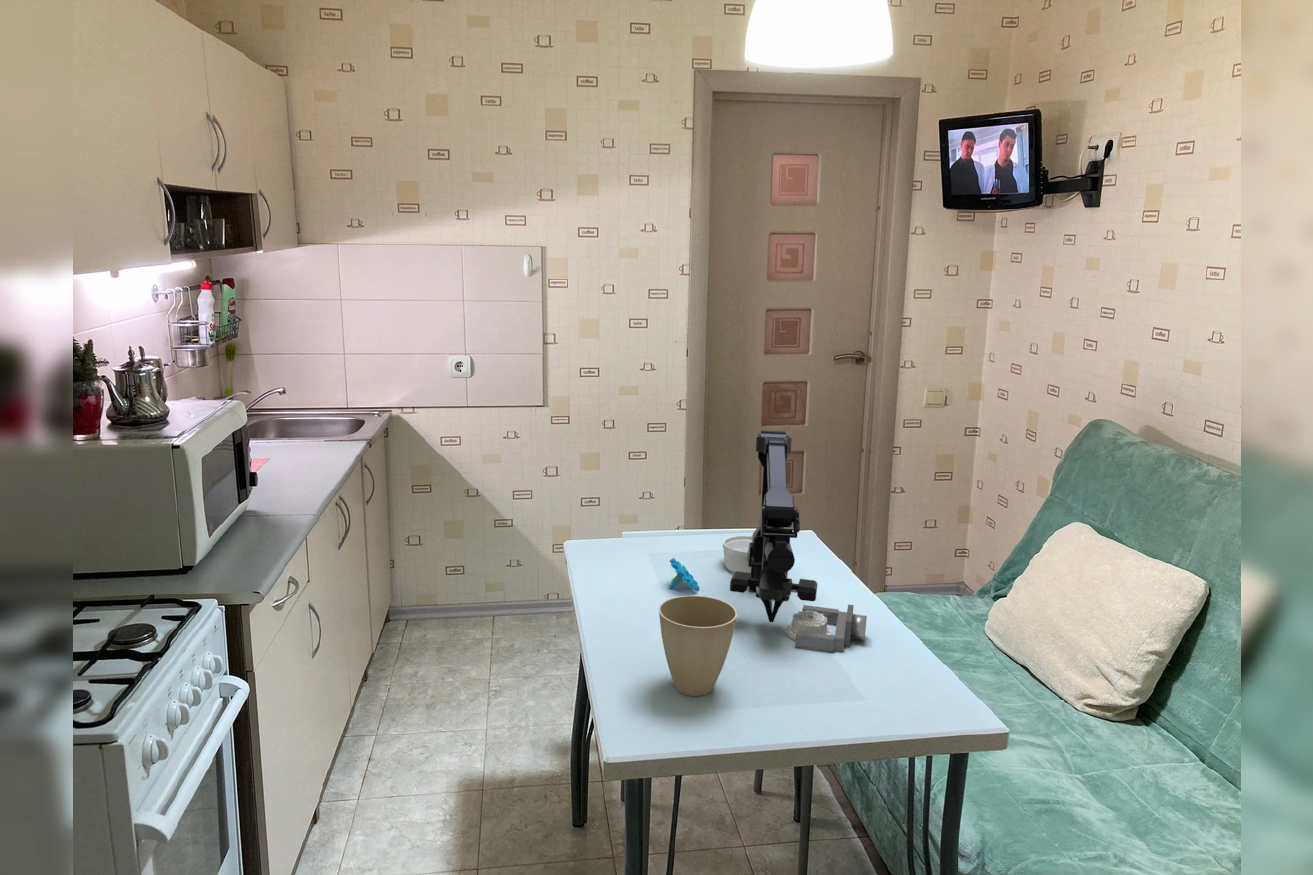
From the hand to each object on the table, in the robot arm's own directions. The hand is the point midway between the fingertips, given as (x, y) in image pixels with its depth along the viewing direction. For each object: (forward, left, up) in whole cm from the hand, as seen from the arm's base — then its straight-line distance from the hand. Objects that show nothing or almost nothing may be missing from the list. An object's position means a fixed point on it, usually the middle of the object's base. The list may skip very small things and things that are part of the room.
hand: (771, 621), depth 204 cm
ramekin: (-11, +34, -2) cm, 36 cm away
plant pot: (-11, -31, -2) cm, 33 cm away
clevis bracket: (+13, 0, -1) cm, 13 cm away
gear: (-24, +16, -2) cm, 28 cm away
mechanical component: (+8, -1, -2) cm, 9 cm away
